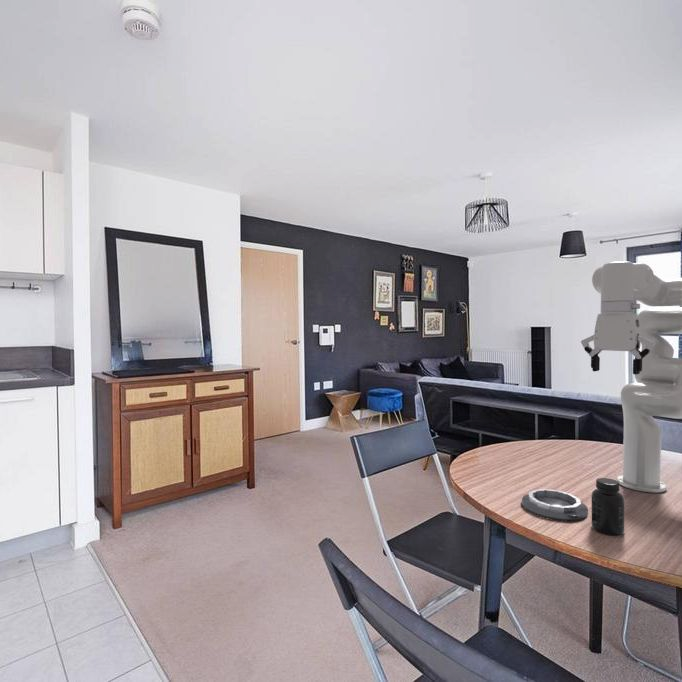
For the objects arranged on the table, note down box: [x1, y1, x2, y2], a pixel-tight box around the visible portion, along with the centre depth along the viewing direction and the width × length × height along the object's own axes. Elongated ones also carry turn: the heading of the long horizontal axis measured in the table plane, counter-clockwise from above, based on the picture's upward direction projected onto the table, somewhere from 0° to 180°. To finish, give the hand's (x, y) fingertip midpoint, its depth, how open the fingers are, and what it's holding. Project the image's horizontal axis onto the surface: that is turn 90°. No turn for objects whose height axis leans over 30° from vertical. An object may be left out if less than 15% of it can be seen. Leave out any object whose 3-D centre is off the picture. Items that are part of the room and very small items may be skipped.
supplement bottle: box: [590, 477, 625, 537], centre depth 106 cm, size 7×7×12 cm
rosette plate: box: [521, 488, 589, 522], centre depth 119 cm, size 16×16×3 cm
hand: (615, 372), depth 118 cm, fingers open, 9 cm apart
